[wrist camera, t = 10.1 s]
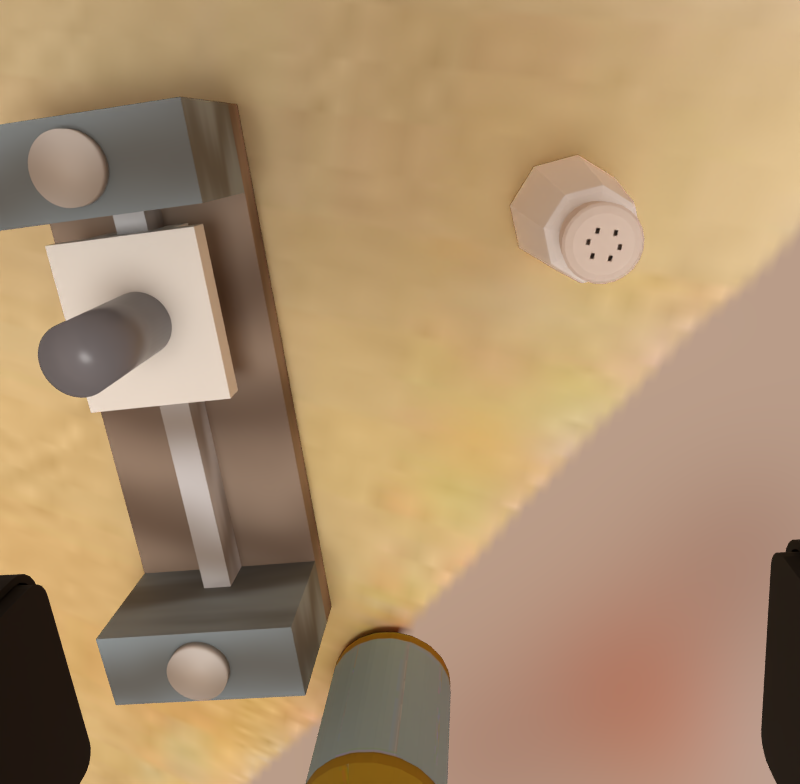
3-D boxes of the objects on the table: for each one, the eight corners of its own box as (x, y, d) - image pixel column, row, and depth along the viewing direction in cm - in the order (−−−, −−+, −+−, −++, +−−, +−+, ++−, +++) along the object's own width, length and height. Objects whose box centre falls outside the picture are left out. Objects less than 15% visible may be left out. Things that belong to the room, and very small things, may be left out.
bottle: (326, 706, 47) (265, 951, 33) (347, 613, 45) (290, 834, 31) (436, 731, 47) (421, 989, 33) (462, 640, 45) (458, 874, 31)
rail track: (42, 134, 37) (-68, 133, 30) (237, 104, 36) (174, 95, 28) (170, 617, 46) (110, 713, 38) (331, 606, 45) (302, 703, 37)
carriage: (79, 237, 37) (-40, 268, 28) (216, 219, 36) (136, 245, 27) (120, 391, 39) (21, 463, 31) (249, 377, 39) (185, 448, 30)
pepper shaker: (635, 162, 35) (703, 174, 25) (609, 276, 37) (663, 332, 27) (519, 146, 36) (540, 151, 25) (499, 261, 37) (511, 309, 27)
